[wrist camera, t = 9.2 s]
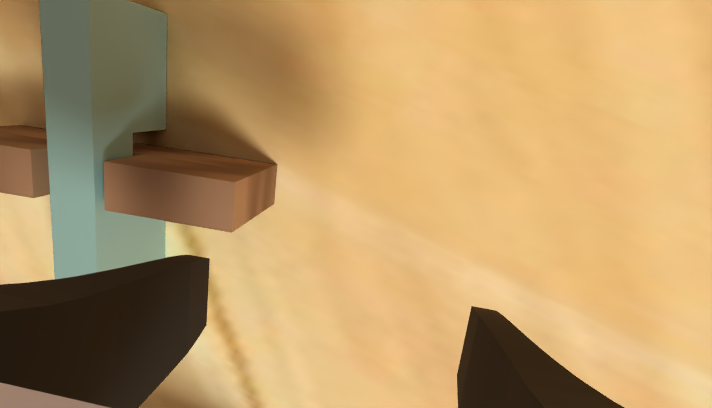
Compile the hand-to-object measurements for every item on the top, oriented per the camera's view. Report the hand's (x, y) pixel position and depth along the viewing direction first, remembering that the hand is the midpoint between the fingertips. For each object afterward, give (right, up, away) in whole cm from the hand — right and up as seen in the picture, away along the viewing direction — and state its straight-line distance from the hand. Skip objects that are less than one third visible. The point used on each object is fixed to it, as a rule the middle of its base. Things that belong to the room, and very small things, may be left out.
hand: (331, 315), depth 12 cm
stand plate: (-10, +5, +11) cm, 16 cm away
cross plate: (-10, +5, +11) cm, 16 cm away
